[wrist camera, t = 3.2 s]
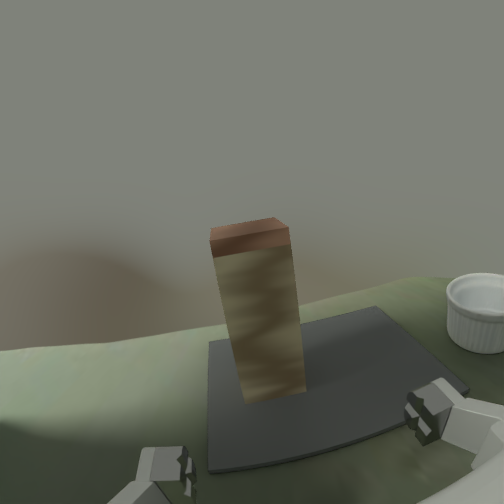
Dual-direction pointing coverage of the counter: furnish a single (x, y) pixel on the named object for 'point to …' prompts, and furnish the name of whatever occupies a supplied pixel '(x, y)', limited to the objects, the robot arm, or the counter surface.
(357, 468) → the counter surface
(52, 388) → the counter surface
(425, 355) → the rubber mat
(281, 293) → the birch block
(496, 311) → the ramekin
